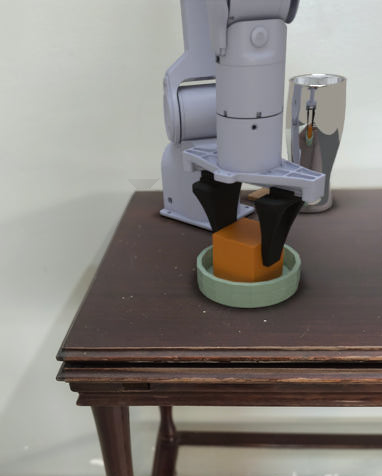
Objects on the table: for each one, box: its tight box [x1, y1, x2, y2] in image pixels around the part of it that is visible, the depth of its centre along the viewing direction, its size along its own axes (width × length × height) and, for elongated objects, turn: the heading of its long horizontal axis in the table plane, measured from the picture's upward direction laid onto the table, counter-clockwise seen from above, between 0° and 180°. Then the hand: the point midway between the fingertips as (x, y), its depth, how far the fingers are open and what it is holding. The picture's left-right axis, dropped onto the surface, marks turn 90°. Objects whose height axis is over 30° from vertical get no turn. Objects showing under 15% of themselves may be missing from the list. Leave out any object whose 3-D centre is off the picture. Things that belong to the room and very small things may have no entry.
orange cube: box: [211, 217, 284, 283], centre depth 57 cm, size 5×5×5 cm
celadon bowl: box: [196, 243, 302, 309], centre depth 58 cm, size 10×10×2 cm
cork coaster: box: [246, 187, 270, 202], centre depth 76 cm, size 4×4×1 cm
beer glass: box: [284, 73, 348, 214], centre depth 70 cm, size 7×7×15 cm
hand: (248, 254), depth 57 cm, fingers closed on orange cube, 5 cm apart
